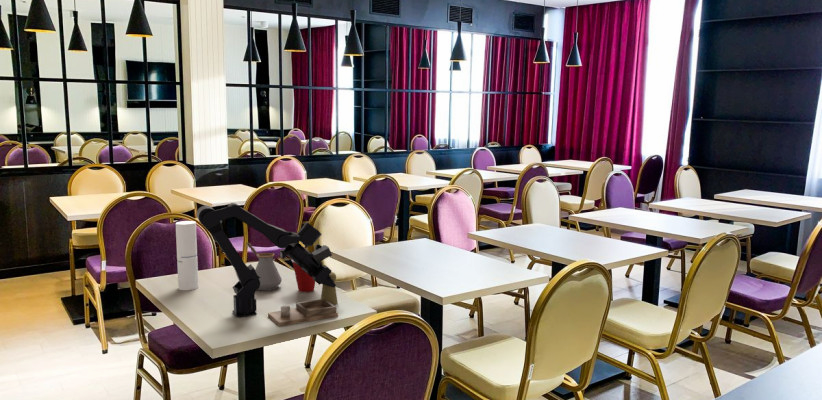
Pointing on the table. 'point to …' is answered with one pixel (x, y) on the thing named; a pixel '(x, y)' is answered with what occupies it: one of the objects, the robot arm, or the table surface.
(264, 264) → the coffee pot
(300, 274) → the plastic cup
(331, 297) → the cork
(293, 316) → the cruet holder
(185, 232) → the cylindrical container
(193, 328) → the table surface
